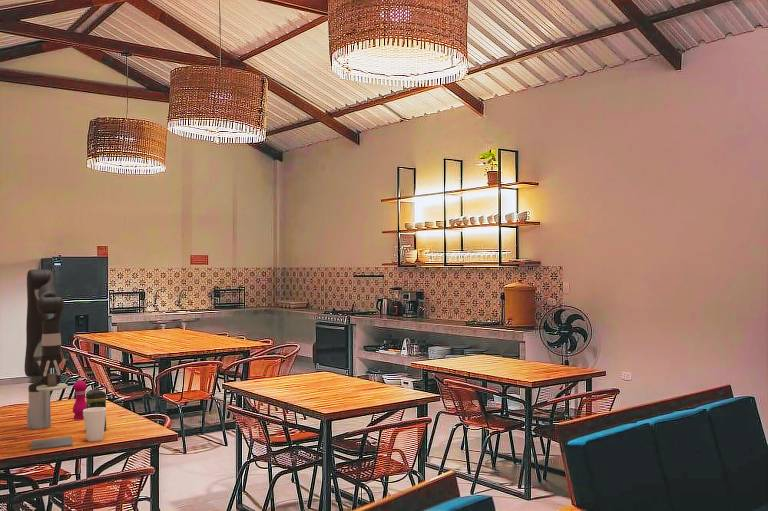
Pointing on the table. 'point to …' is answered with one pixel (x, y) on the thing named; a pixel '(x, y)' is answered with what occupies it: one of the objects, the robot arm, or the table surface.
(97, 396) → the coffee jar
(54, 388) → the lid
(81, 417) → the pepper mill
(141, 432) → the table surface
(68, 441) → the mat
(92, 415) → the foam cup
